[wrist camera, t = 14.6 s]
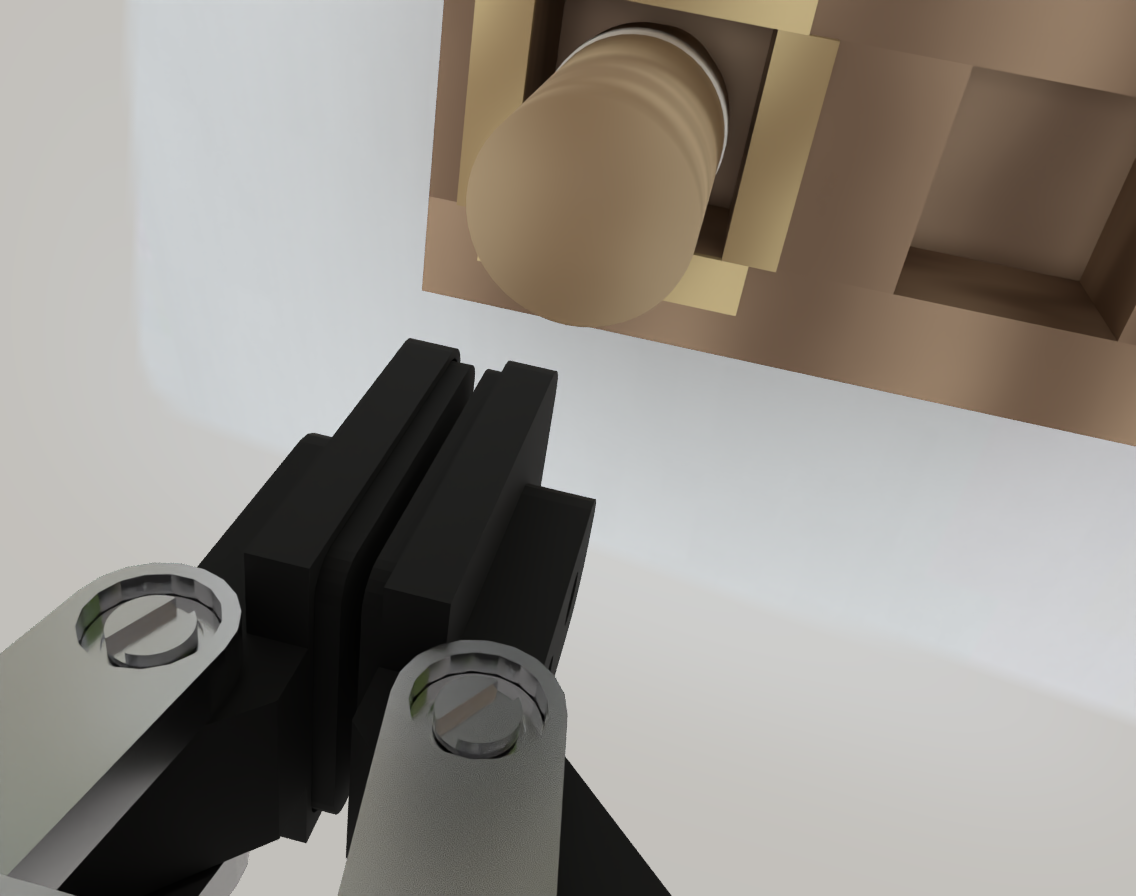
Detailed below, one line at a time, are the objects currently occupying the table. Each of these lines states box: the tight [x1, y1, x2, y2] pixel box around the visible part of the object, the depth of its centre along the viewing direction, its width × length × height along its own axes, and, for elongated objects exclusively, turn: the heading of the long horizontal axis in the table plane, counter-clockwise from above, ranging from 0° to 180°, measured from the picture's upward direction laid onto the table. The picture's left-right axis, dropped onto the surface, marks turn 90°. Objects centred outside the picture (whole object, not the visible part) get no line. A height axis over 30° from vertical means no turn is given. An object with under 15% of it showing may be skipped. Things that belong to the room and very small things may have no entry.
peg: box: [466, 22, 730, 327], centre depth 23 cm, size 4×4×11 cm
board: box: [422, 0, 1136, 446], centre depth 26 cm, size 20×11×5 cm, turn 81°
